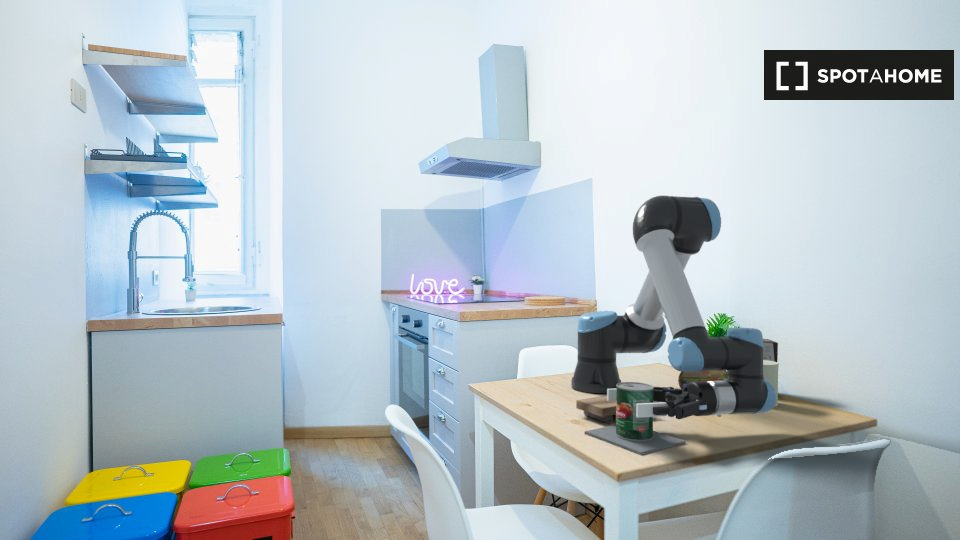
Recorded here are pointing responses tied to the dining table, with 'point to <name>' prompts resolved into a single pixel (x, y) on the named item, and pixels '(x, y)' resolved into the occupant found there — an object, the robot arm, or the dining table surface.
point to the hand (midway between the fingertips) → (621, 402)
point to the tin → (701, 377)
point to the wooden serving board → (598, 408)
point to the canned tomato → (633, 411)
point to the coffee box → (770, 350)
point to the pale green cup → (771, 375)
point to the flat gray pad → (640, 448)
